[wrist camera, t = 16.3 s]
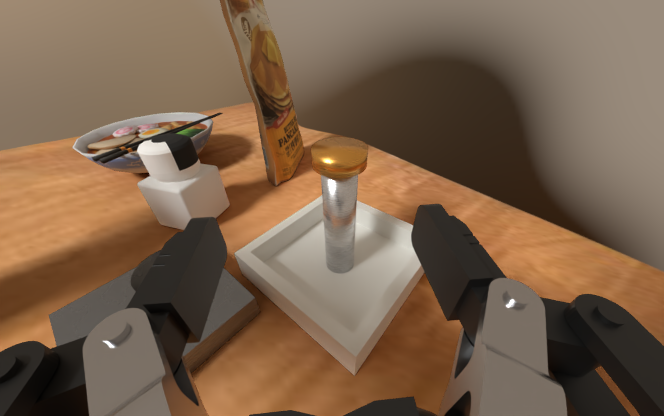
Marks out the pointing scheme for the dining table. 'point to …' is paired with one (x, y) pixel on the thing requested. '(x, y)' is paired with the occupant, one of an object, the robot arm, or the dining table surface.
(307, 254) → the tray
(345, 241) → the pin
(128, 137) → the ramen bowl
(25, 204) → the dining table surface
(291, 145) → the pancake mix bag
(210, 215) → the medicine bottle
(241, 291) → the grey flat square block
